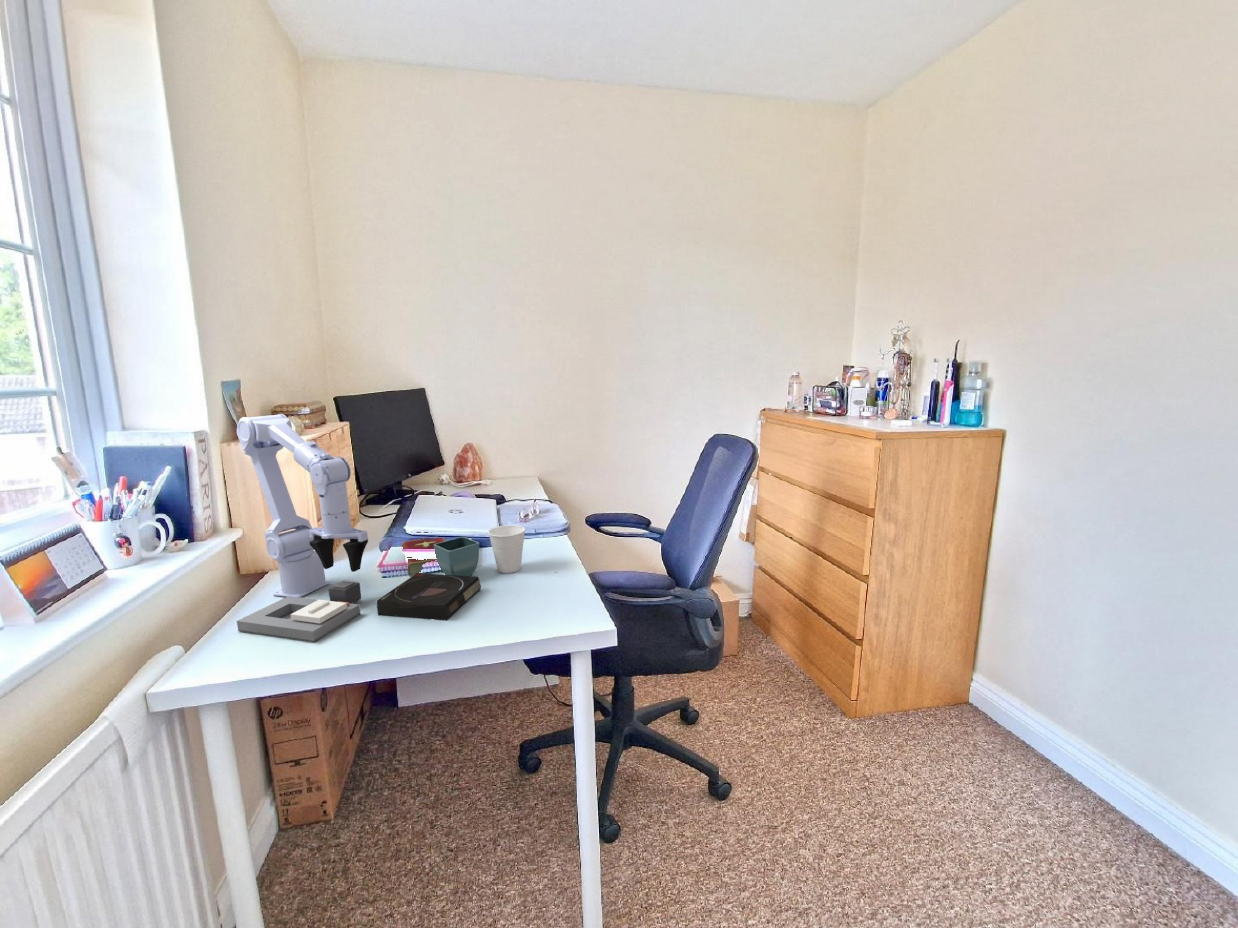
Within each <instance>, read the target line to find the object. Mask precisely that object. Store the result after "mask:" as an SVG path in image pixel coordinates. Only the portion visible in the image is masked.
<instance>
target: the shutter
mask: <svg viewBox="0 0 1238 928" xmlns="http://www.w3.org/2000/svg"><path fill="white" fill-rule="evenodd" d="M346 608H347V603H343V602H334V601H330V600H323V599H317V601H315V602H313V603H311V604H310V605H308V606H306V607H304V608H302V609H300V610H298V611H296V612H294V613H292V614H291V620H297V621H305V622H312V623H322V622H324V621H325V620H327V619H329V618H331V617H332V616H334V615H336V614H338V613H339V612H341V611H343V610H345V609H346Z"/></svg>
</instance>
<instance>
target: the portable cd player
mask: <svg viewBox="0 0 1238 928" xmlns="http://www.w3.org/2000/svg"><path fill="white" fill-rule="evenodd" d="M481 590H482V585H481V582H480V577H479V576H475V575H474V576H473V575H471V576H459V575H445V574H440V573H439V574H438V573H417V574H415V575H412V576H410V577H409V578H408V579H406V580H405V581H403V582H402V583H400V584H399V585H397V586H396V587H395V588H393V589H392V590H390V591H388V592H387V593H386V594H384V595H383V596H380V597H379V598H378V599H377V600H376V609H377V616H379V617H392V618H406V619H408V618H409V619H420V620H431V619H434V620H433V621H448V620H450V619H451V617H452V616H454V615H455V614H456V613H457V612H458V611H459V610H460V609H461V608H462V607H464V605H466V604H468V602H469V601H470V600H471V599H472V598H474V596H475V595H477V594H478V592H480V591H481Z"/></svg>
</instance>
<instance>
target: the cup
mask: <svg viewBox="0 0 1238 928" xmlns="http://www.w3.org/2000/svg"><path fill="white" fill-rule="evenodd" d="M526 530H527V529H526V527H525V526H522V525H517V524H516V525H515V524H510V525H509V524H508V525H507V524H506V525H499V526H495V527H493V528H490V529H489V530H488V531H487V534H488V537H489V541H490V545H491V549H492V552H493V556H494V560H495V565H496V569H497V571H498V572H499V573H501V574H513V572H514V573H516V572H518V571H520V569H521V568H522V559H523V558H522V557H523V550H524V542H525V541H524V540H525V534H526V533H525V532H526Z"/></svg>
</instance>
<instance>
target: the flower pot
mask: <svg viewBox="0 0 1238 928" xmlns="http://www.w3.org/2000/svg"><path fill="white" fill-rule="evenodd" d="M434 549H435V554H436V558H437V562H438V564H439V566H440V568H441V571H442V572H443V575H459V576H473V574H474V573H475V572H476V569H477V566H478V565H479V564H478V563H479V557H480V555H479V554H480V541H479V542H478V541H476V540H473V539H470V538H468V537H465V536H460V537H455V538H452V539H448V540H446V541H444V542H440V543H436V544H434Z"/></svg>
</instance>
